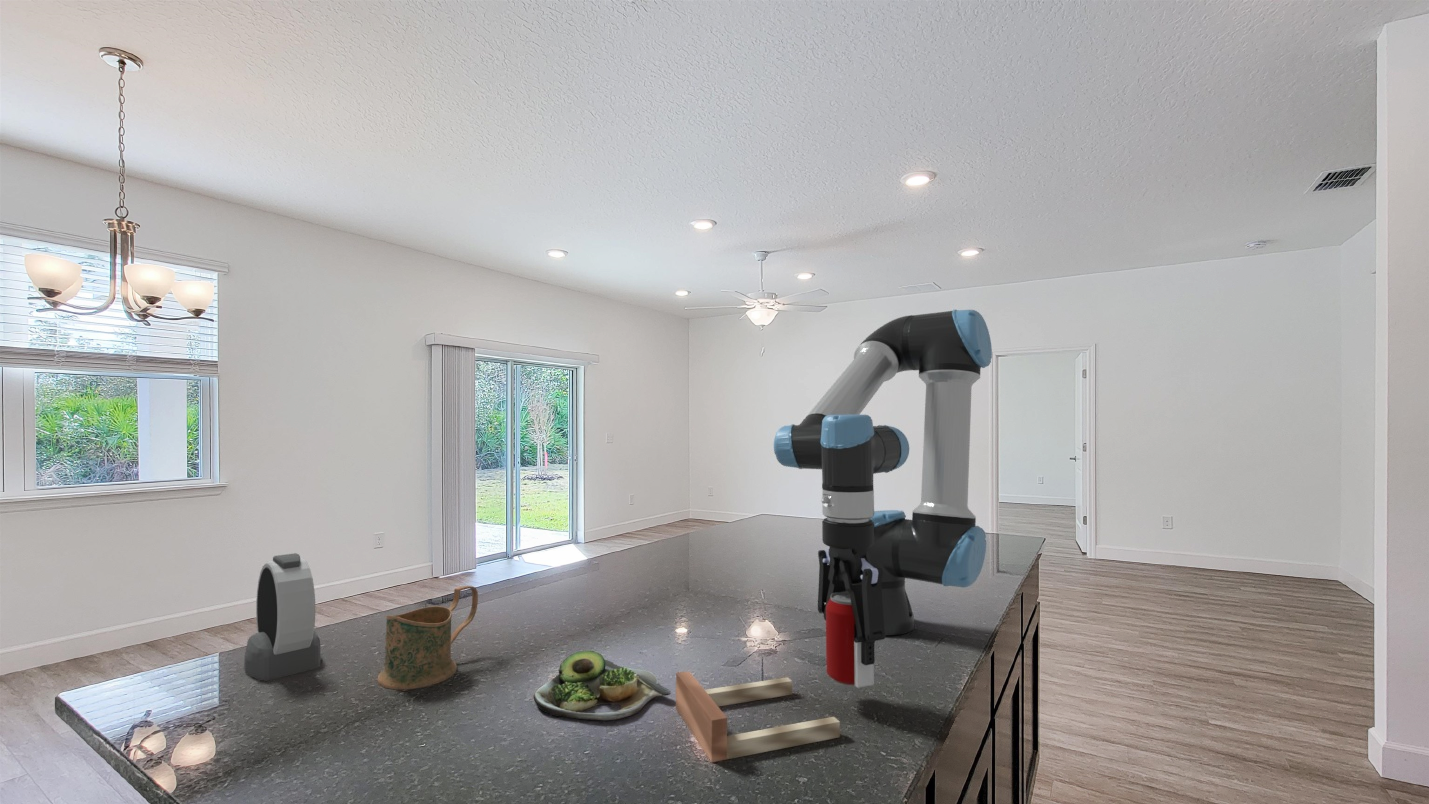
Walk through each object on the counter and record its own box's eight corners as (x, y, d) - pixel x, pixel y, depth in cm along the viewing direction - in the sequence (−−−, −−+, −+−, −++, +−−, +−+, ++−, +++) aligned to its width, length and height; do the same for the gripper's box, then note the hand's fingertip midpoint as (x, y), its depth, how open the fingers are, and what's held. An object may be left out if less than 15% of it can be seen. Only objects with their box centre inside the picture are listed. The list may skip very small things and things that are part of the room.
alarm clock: (235, 659, 105) (239, 552, 106) (305, 643, 112) (308, 544, 113) (256, 687, 94) (260, 567, 95) (332, 668, 101) (335, 557, 102)
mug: (498, 655, 108) (500, 586, 108) (411, 695, 92) (414, 614, 92) (451, 644, 112) (453, 579, 113) (361, 680, 97) (363, 604, 97)
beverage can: (874, 690, 86) (873, 604, 86) (825, 686, 87) (825, 602, 88) (872, 670, 93) (871, 591, 93) (826, 666, 94) (826, 588, 94)
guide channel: (787, 690, 94) (787, 657, 95) (839, 737, 80) (839, 698, 80) (675, 707, 88) (676, 672, 88) (711, 762, 74) (711, 720, 74)
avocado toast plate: (689, 682, 98) (689, 653, 98) (642, 736, 81) (642, 701, 81) (582, 666, 104) (583, 638, 104) (517, 713, 87) (518, 680, 87)
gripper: (794, 510, 98) (795, 653, 98) (864, 532, 80) (866, 709, 79) (834, 507, 101) (836, 647, 101) (912, 527, 82) (914, 699, 82)
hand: (849, 674), depth 90 cm, fingers closed on beverage can, 7 cm apart
